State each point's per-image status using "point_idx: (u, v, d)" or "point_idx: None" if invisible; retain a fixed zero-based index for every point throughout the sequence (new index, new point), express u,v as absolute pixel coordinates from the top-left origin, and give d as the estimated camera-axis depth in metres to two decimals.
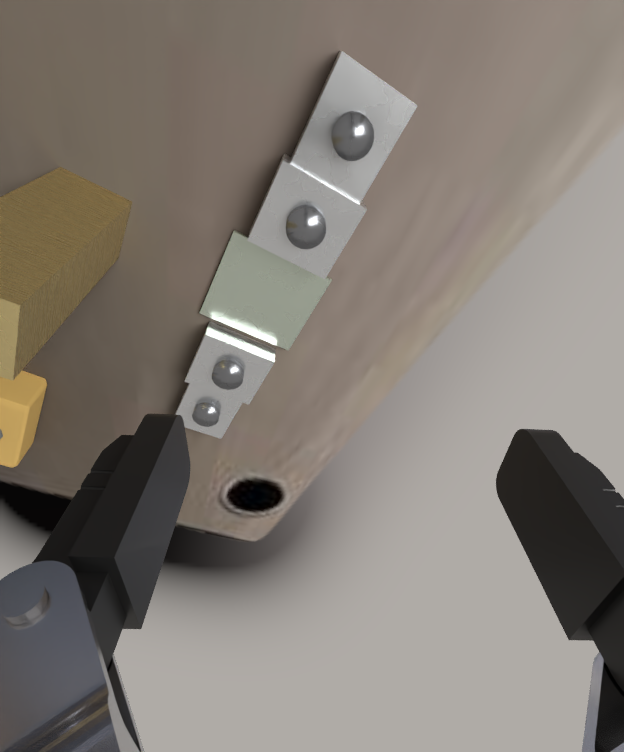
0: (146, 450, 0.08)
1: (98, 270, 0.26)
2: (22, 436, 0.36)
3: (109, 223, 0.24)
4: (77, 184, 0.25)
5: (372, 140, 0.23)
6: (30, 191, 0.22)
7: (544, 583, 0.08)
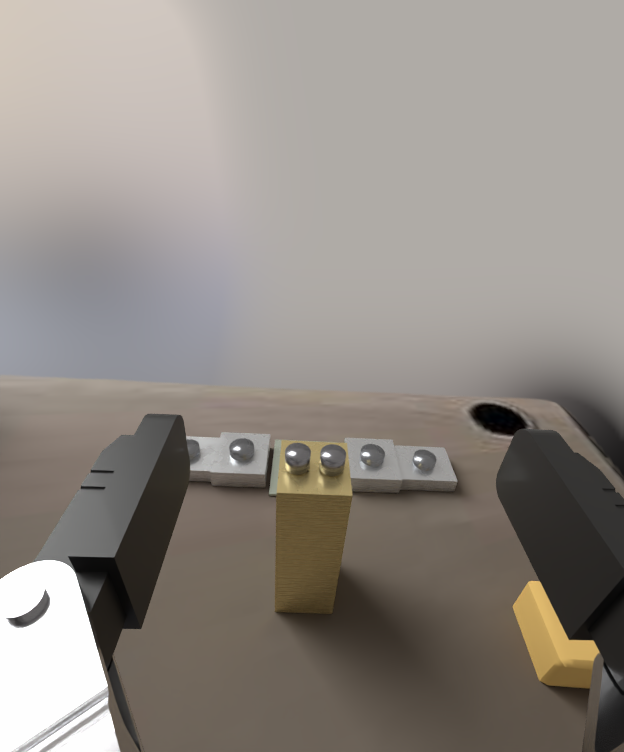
0: (146, 450, 0.08)
1: None
2: None
3: None
4: None
5: None
6: None
7: (544, 583, 0.08)
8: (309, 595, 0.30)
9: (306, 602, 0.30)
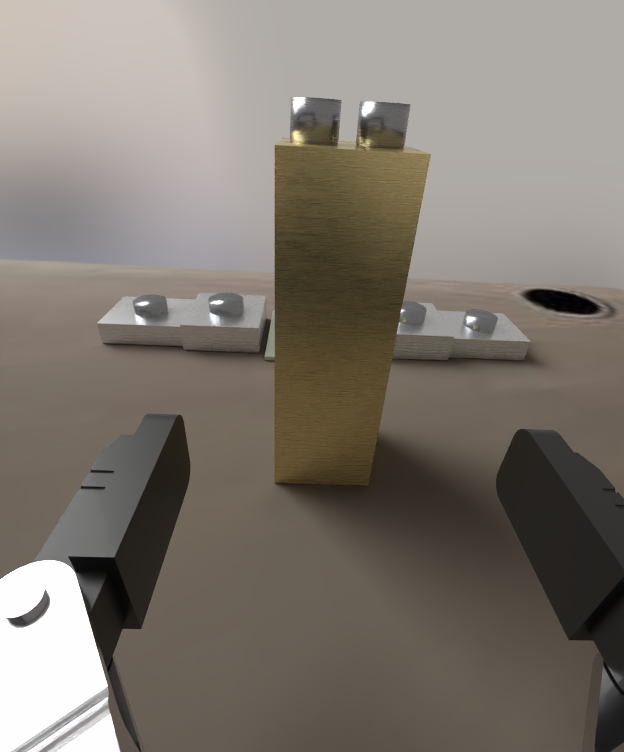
0: (146, 450, 0.08)
1: None
2: None
3: None
4: None
5: (148, 295, 0.31)
6: None
7: (544, 583, 0.08)
8: (332, 443, 0.18)
9: (327, 460, 0.18)
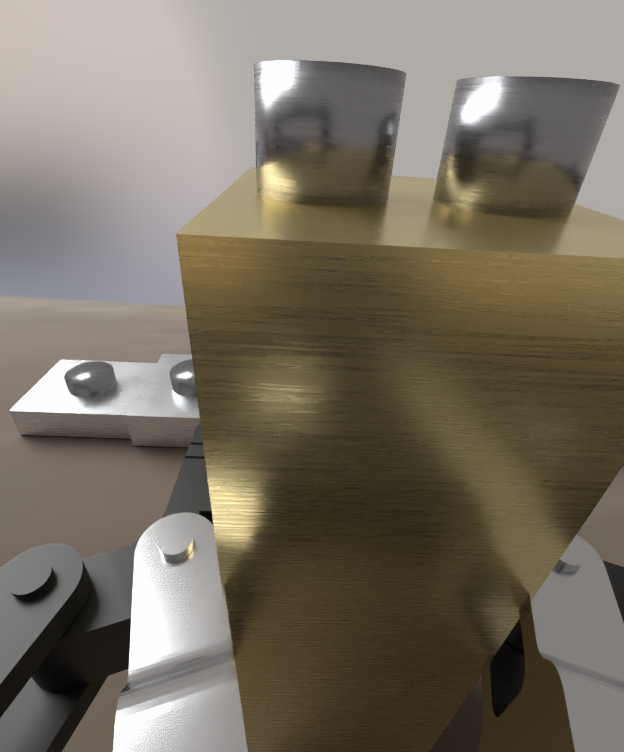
0: None
1: None
2: None
3: None
4: None
5: (90, 362, 0.23)
6: None
7: None
8: (352, 743, 0.09)
9: None
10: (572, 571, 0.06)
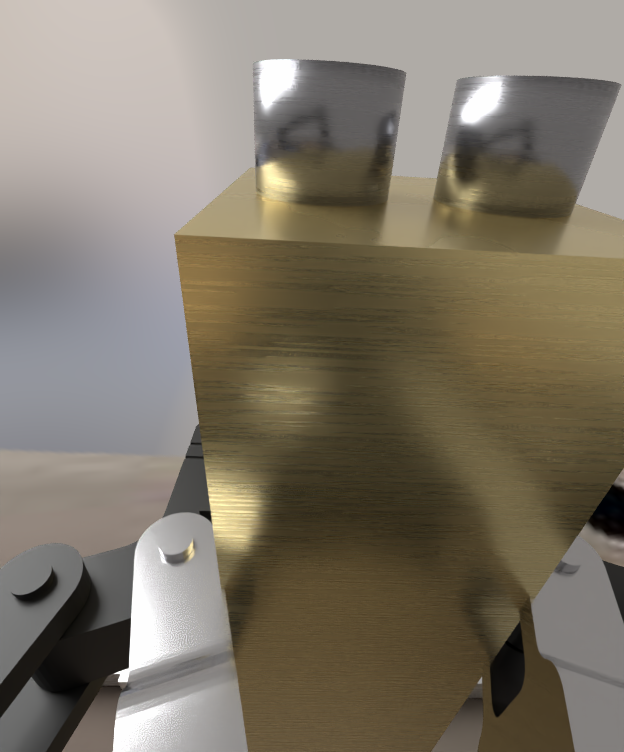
0: None
1: None
2: None
3: None
4: None
5: None
6: None
7: None
8: (352, 745, 0.09)
9: None
10: (572, 571, 0.06)
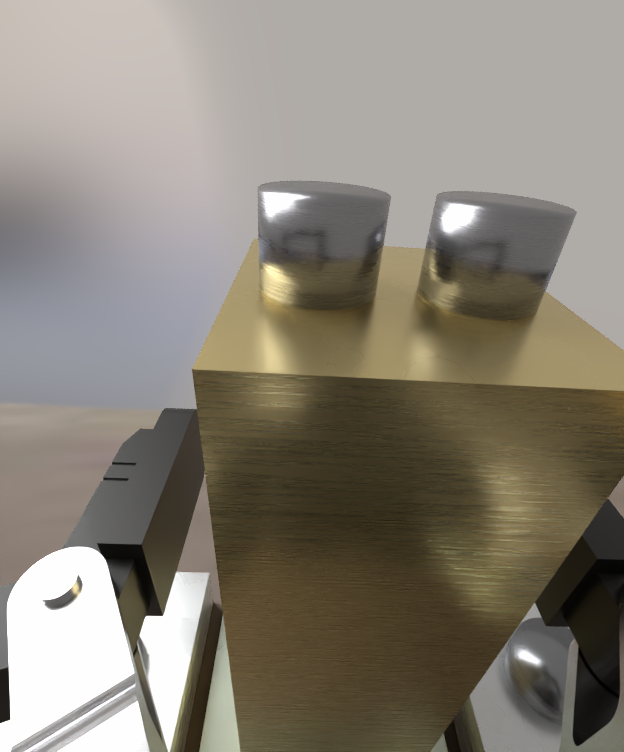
0: (166, 443, 0.08)
1: None
2: None
3: None
4: None
5: None
6: None
7: None
8: None
9: None
10: None
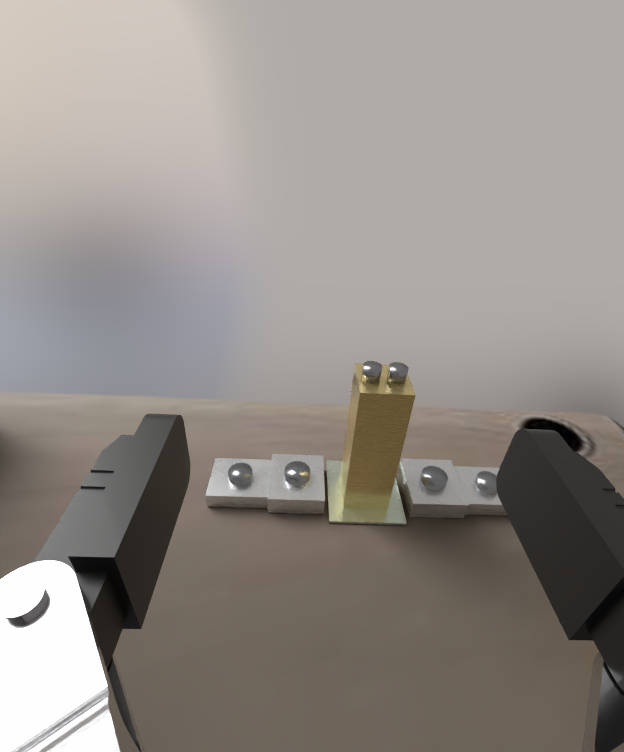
0: (146, 450, 0.08)
1: None
2: None
3: (344, 445, 0.41)
4: (343, 486, 0.40)
5: (237, 463, 0.41)
6: (347, 469, 0.38)
7: (544, 583, 0.08)
8: (372, 489, 0.38)
9: (369, 496, 0.39)
10: None
